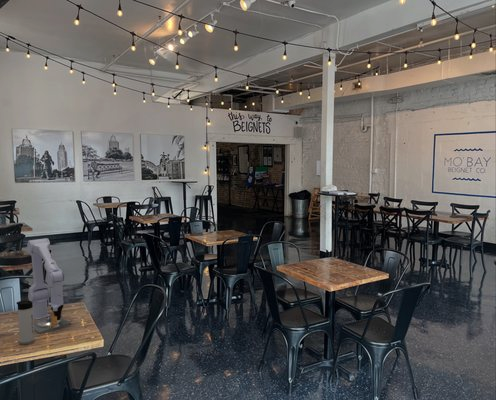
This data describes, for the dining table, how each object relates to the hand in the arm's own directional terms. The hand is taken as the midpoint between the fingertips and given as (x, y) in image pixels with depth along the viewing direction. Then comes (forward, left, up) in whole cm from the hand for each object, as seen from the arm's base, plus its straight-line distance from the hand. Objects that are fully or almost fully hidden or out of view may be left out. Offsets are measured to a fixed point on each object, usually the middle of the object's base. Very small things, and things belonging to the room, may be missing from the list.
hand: (57, 319), depth 204 cm
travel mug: (+7, -18, -4) cm, 19 cm away
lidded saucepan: (-4, -2, -3) cm, 5 cm away
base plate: (-6, -2, -4) cm, 7 cm away
